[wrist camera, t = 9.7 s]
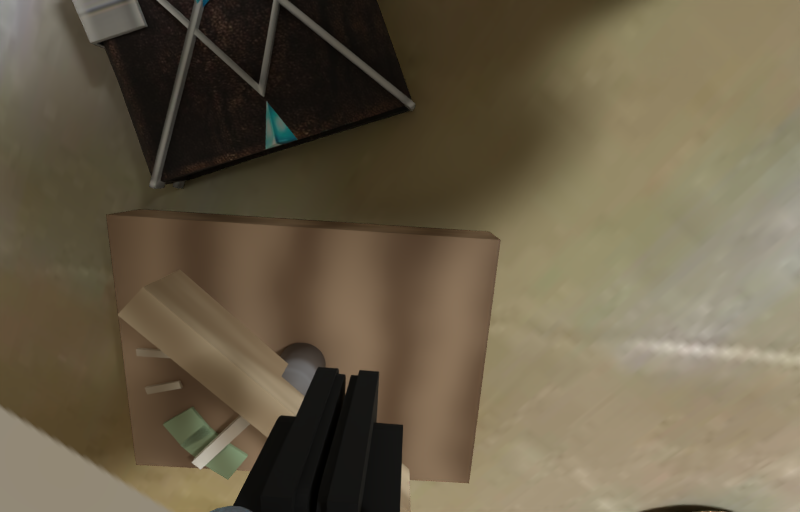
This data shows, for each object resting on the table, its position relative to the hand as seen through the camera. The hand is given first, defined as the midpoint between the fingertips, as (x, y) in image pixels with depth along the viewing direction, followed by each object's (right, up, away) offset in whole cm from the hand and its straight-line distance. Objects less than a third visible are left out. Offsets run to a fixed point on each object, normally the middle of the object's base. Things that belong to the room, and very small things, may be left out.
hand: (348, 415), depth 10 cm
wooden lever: (-8, -6, +15) cm, 18 cm away
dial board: (-5, -2, +18) cm, 18 cm away
